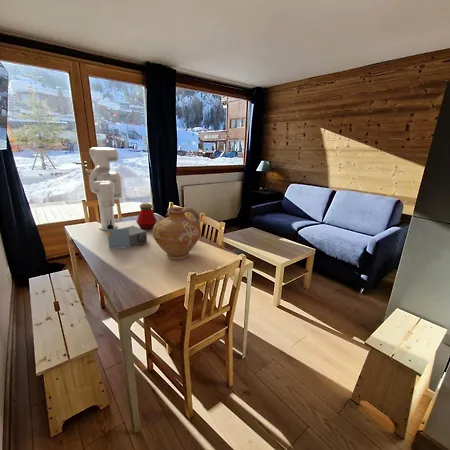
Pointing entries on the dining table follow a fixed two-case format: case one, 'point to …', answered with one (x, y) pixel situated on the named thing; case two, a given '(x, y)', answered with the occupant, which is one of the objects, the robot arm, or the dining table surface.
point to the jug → (178, 232)
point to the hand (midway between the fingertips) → (110, 231)
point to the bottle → (146, 217)
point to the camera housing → (136, 236)
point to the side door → (118, 238)
